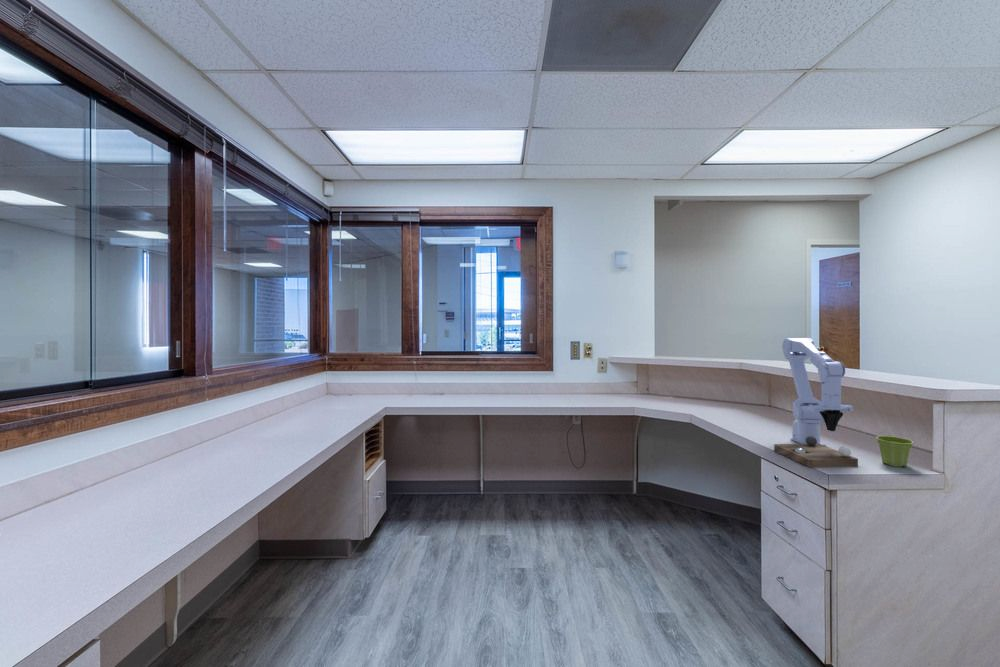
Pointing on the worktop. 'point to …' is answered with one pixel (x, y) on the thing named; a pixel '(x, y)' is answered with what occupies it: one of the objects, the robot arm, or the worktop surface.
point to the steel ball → (800, 450)
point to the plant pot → (894, 450)
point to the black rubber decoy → (811, 440)
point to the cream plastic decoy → (844, 451)
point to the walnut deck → (815, 455)
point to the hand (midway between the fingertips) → (831, 430)
